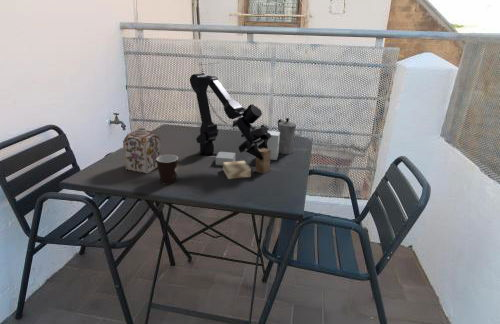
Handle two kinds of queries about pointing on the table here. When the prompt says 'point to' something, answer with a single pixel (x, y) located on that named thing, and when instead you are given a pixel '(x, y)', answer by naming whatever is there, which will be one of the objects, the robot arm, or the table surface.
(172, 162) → the coffee mug
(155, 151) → the decorative jar
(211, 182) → the table surface
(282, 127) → the coffeepot
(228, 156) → the slate block
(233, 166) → the beech block
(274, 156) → the supplement box
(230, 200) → the table surface
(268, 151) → the walnut block
